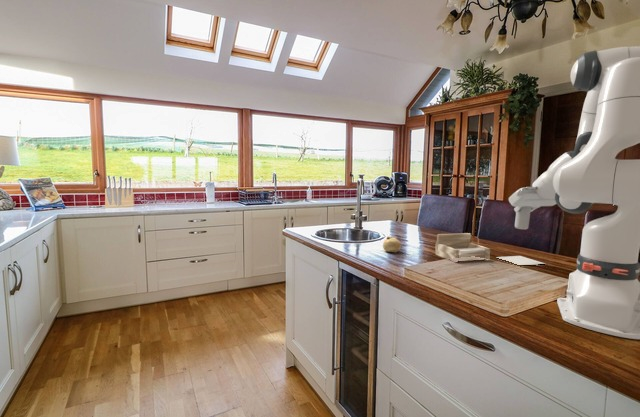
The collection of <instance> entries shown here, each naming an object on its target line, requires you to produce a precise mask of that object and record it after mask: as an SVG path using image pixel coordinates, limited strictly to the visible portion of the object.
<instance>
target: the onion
mask: <svg viewBox="0 0 640 417" xmlns="http://www.w3.org/2000/svg"><path fill="white" fill-rule="evenodd" d="M382 248H383V250H384V251H385V252H386V253H395V254H396V253H398V252H399V251H401V249H402V244H401V242H400V240H399V239H398V238H395V237H393V236H386V238H385V239H384V241H383V243H382Z"/></svg>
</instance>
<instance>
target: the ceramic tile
mask: <svg viewBox="0 0 640 417" xmlns="http://www.w3.org/2000/svg"><path fill="white" fill-rule="evenodd" d="M496 258H499V259H502V260H506V261H509V262H512V263H514V264H517V265H536V266H539V265H538V264H545V265H546V263H545V262H541V261H539V260H536V259H531V258H528V257H525V256H522V255H511V256H509V255H508V256H496ZM499 259H498V260H499ZM502 260H501V261H502ZM514 264H513V265H514ZM517 265H516V266H517Z"/></svg>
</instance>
